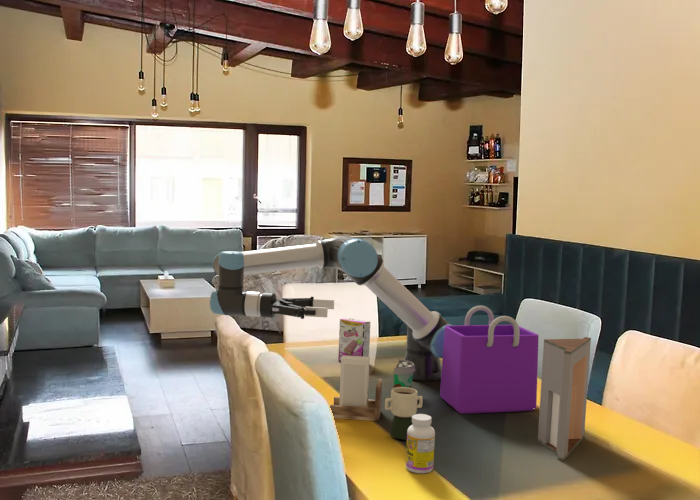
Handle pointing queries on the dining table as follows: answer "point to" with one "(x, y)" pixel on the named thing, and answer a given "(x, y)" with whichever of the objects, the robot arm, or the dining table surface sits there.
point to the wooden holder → (360, 408)
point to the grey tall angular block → (563, 394)
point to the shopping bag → (489, 366)
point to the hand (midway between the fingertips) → (330, 308)
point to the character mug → (403, 409)
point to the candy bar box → (354, 337)
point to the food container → (403, 373)
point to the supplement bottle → (420, 444)
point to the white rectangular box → (354, 381)
